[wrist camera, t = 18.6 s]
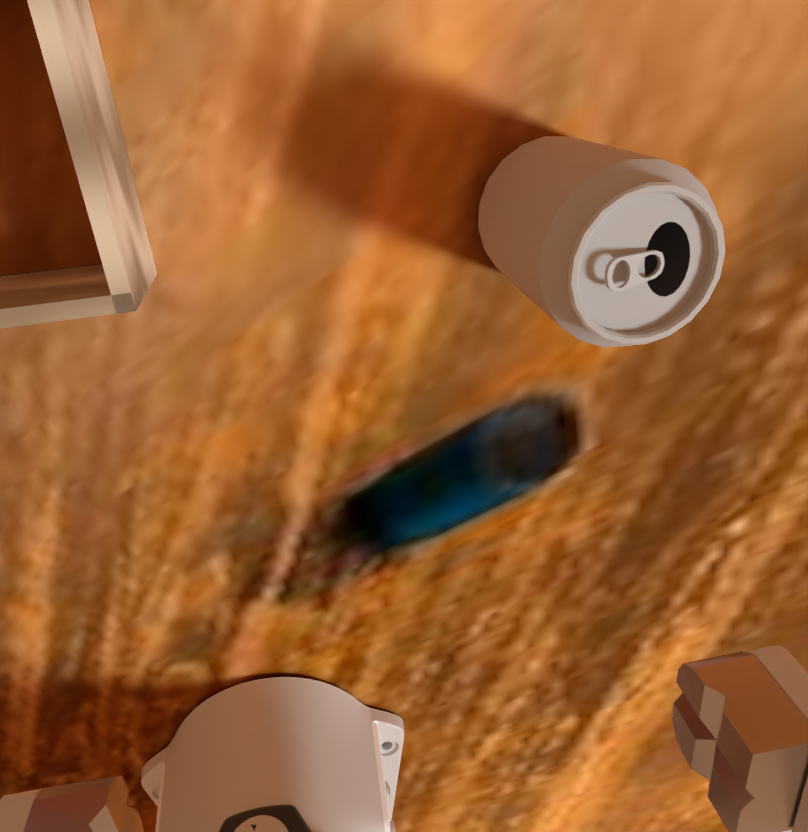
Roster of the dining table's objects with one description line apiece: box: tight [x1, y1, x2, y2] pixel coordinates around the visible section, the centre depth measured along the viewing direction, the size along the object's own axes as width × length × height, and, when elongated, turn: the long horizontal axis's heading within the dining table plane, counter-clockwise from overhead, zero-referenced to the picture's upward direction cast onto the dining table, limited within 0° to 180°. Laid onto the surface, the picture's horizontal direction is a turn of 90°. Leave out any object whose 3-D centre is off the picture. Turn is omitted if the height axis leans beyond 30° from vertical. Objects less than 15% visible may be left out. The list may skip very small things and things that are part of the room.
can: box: [478, 136, 725, 347], centre depth 31 cm, size 8×8×12 cm
